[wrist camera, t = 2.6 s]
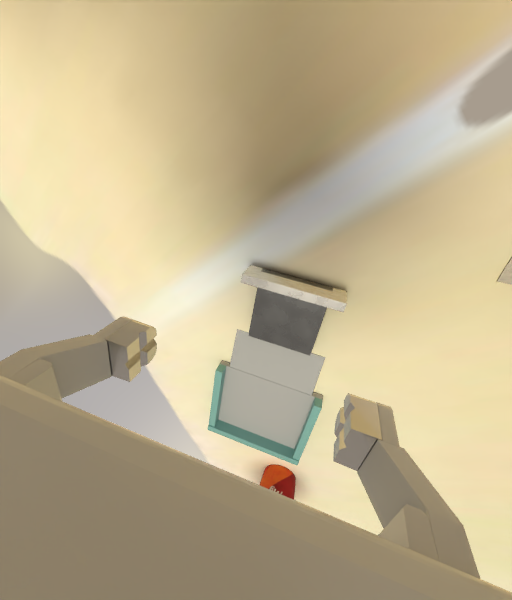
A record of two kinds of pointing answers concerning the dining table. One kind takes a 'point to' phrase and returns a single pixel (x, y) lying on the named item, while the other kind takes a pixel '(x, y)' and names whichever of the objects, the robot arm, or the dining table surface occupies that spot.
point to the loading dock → (266, 397)
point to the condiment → (506, 274)
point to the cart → (289, 308)
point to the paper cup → (279, 480)
